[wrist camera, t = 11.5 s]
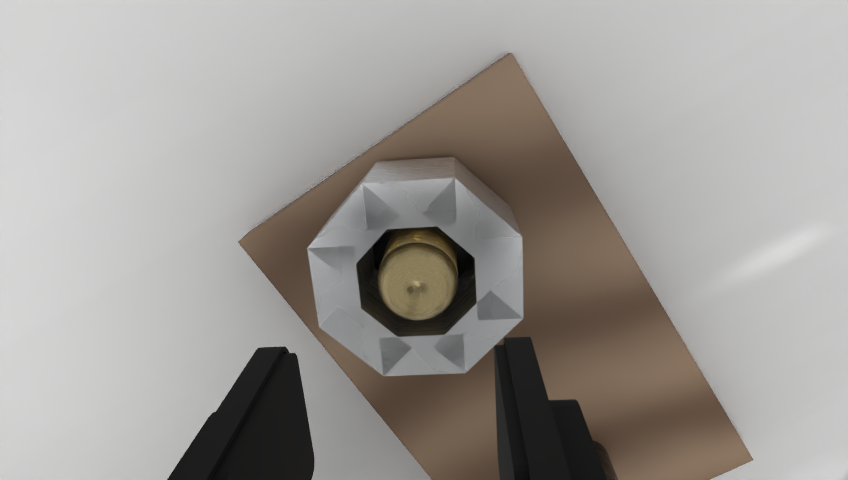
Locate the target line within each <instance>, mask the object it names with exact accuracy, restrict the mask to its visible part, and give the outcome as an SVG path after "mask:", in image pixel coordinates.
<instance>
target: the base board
mask: <svg viewBox="0 0 848 480" xmlns="http://www.w3.org/2000/svg"><path fill="white" fill-rule="evenodd" d="M445 157H455V158H456V159H457V160H458V161H459V162H460V163H461V164H463V165H464V166H465V167H466V168H467V169H468V170H469V171H470V172H472V173H473V174H474V175H475V176H476V177H477V178H478V179H480V180H481V181H482V182H483V183H484V184H485V185H486V186H487V187H489V188H490V189H491V190H492V191H493V192H494V193H495V194H497V195H498V196H499V197H500V198H501V199H502V200H503V201H504V202H506V203H507V204H508V205H509V206H510V207H511V209H512V212H513V215H514V217H515V220H516V222H517V225H518V227H519V230H520V232H521V235H522V247H523V319H522V320H521V321H520V322H519V323H518V324H517V325H516V326H515V327H514V328H513V329H512V330H511V331H510V332H509V333H507V334H506V335H505V336H504V337H503V338H502V339H501V340H500V341H499V342H498V343H497V344H496V345H503V342H504V338H508V337H531V339H532V343H533V346H534V350H535V353H536V357H537V360H538V364H539V367H540V371H541V374H542V378H543V381H544V385H545V388H546V392H547V395H548V399H549V400H567V399H576V400H577V401H578V403H579V405H580V408H581V410H582V413H583V416H584V418H585V421H586V424H587V427H588V429H589V432H590V435H591V437H592V440H593V441H596V442H598V443H600V444H601V445H602V446H603V447H604V448H605V449H606V450H607V452H608V455H609V457H610V460H611V463H612V465H613V468H614V470H615V473H616V475H617V478H618V480H710V479H712V478H714V477H717V476H719V475H721V474H723V473H726V472H728V471H730V470H732V469H734V468H737V467H739V466H741V465H743V464H746V463H748V462H750V461H752V460H753V458H752V457H751V455H750V453H749V451H748V450H747V448H746V446H745V445H744V443H743V441H742V440H741V438H740V436H739V435H738V433H737V431H736V430H735V428H734V426H733V425H732V423H731V421H730V420H729V418H728V416H727V414H726V413H725V411H724V409H723V408H722V406H721V404H720V403H719V401H718V399H717V398H716V396H715V394H714V393H713V391H712V389H711V388H710V386H709V384H708V382H707V381H706V379H705V377H704V376H703V374H702V372H701V371H700V369H699V367H698V366H697V364H696V362H695V361H694V359H693V357H692V356H691V354H690V352H689V351H688V349H687V347H686V345H685V344H684V342H683V340H682V339H681V337H680V335H679V334H678V332H677V330H676V329H675V327H674V325H673V324H672V322H671V320H670V319H669V317H668V315H667V313H666V312H665V310H664V308H663V307H662V305H661V303H660V302H659V300H658V298H657V297H656V295H655V293H654V292H653V290H652V288H651V287H650V285H649V283H648V282H647V280H646V278H645V276H644V275H643V273H642V271H641V270H640V268H639V266H638V265H637V263H636V261H635V260H634V258H633V256H632V255H631V253H630V251H629V250H628V248H627V246H626V244H625V243H624V241H623V239H622V238H621V236H620V234H619V233H618V231H617V229H616V228H615V226H614V224H613V223H612V221H611V219H610V218H609V216H608V214H607V213H606V211H605V209H604V207H603V206H602V204H601V202H600V201H599V199H598V197H597V196H596V194H595V192H594V191H593V189H592V187H591V186H590V184H589V182H588V181H587V179H586V177H585V175H584V174H583V172H582V170H581V169H580V167H579V165H578V164H577V162H576V160H575V159H574V157H573V155H572V154H571V152H570V150H569V149H568V147H567V145H566V144H565V142H564V140H563V138H562V137H561V135H560V133H559V132H558V130H557V128H556V127H555V125H554V123H553V122H552V120H551V118H550V117H549V115H548V113H547V112H546V110H545V108H544V106H543V105H542V103H541V101H540V100H539V98H538V96H537V95H536V93H535V91H534V90H533V88H532V86H531V85H530V83H529V81H528V80H527V78H526V76H525V75H524V73H523V71H522V69H521V68H520V66H519V64H518V63H517V61H516V59H515V58H514V56H513V54H512V53H508V54H507V55H505V56H504V57H502V58H501V59H499V60H498V61H497V62H495V63H494V64H492V65H491V66H489V67H488V68H486V69H485V70H484V71H482V72H481V73H479V74H478V75H476V76H475V77H473V78H472V79H470V80H469V81H468V82H466V83H465V84H463V85H462V86H460V87H459V88H457V89H456V90H455V91H453V92H452V93H450V94H449V95H447V96H446V97H444V98H443V99H441V100H440V101H439V102H437V103H436V104H434V105H433V106H431V107H430V108H428V109H427V110H426V111H424V112H423V113H421V114H420V115H418V116H417V117H415V118H414V119H412V120H411V121H410V122H408V123H407V124H405V125H404V126H402V127H401V128H399V129H398V130H397V131H395V132H394V133H392V134H391V135H389V136H388V137H386V138H385V139H383V140H382V141H381V142H379V143H378V144H376V145H375V146H373V147H372V148H370V149H369V150H368V151H366V152H365V153H363V154H362V155H360V156H359V157H357V158H356V159H354V160H353V161H352V162H350V163H349V164H347V165H346V166H344V167H343V168H341V169H340V170H339V171H337V172H336V173H334V174H333V175H331V176H330V177H328V178H327V179H325V180H324V181H323V182H321V183H320V184H318V185H317V186H315V187H314V188H312V189H311V190H310V191H308V192H307V193H305V194H304V195H302V196H301V197H299V198H298V199H296V200H295V201H294V202H292V203H291V204H289V205H288V206H286V207H285V208H283V209H282V210H281V211H279V212H278V213H276V214H275V215H273V216H272V217H270V218H269V219H267V220H266V221H265V222H263V223H262V224H260V225H259V226H257V227H256V228H254V229H253V230H252V231H250V232H249V233H247V234H246V235H245V236H244V237H243V238H242V239H241V240H240V241H238V243H239V244H240V245H241V246H242V247H243V249H244V250H245V251H246V252H247V254H248V255H249V256H250V257H251V258H252V260H253V261H254V262H255V263H256V265H257V266H258V267H259V268H260V269H261V271H262V272H263V273H264V274H265V276H266V277H267V278H268V279H269V280H270V282H271V283H272V284H273V285H274V287H275V288H276V289H277V290H278V291H279V293H280V294H281V295H282V296H283V298H284V299H285V300H286V301H287V303H288V304H289V305H290V306H291V307H292V309H293V310H294V311H295V312H296V314H297V315H298V316H299V317H300V318H301V320H302V321H303V322H304V323H305V325H306V326H307V327H308V328H309V329H310V331H311V332H312V333H313V334H314V336H315V337H316V338H317V339H318V340H319V342H320V343H321V344H322V345H323V347H324V348H325V349H326V350H327V352H328V353H329V354H330V355H331V356H332V358H333V359H334V360H335V361H336V363H337V364H338V365H339V366H340V367H341V369H342V370H343V371H344V372H345V374H346V375H347V376H348V377H349V378H350V380H351V381H352V382H353V383H354V385H355V386H356V387H357V388H358V389H359V391H360V392H361V393H362V394H363V396H364V397H365V398H366V399H367V400H368V402H369V403H370V404H371V405H372V407H373V408H374V409H375V410H376V412H377V413H378V414H379V415H380V416H381V418H382V419H383V420H384V421H385V423H386V424H387V425H388V426H389V427H390V429H391V430H392V431H393V432H394V434H395V435H396V436H397V437H398V438H399V440H400V441H401V442H402V443H403V445H404V446H405V447H406V448H407V449H408V451H409V452H410V453H411V454H412V456H413V457H414V458H415V459H416V460H417V462H418V463H419V464H420V465H421V467H422V468H423V469H424V470H425V472H426V473H427V474H428V475H429V476H430V478H431V479H432V480H500V476H499V467H498V453H497V425H496V395H495V366H494V347H493V348H492V349H491V350H489V351H488V352H487V353H486V354H485V355H484V356H483V357H482V358H481V359H480V360H479V361H478V362H477V363H476V364H475V365H474V366H473V367H471V368H470V369H469V370H468V371H467V372H466V373H458V374H431V375H404V376H383V375H381V374H380V373H379V372H377V371H376V370H375V369H373V368H372V367H371V366H369V365H368V364H367V363H366V362H364V361H363V360H362V359H360V358H359V357H358V356H356V355H355V354H354V353H352V352H351V351H350V350H348V349H347V348H346V347H344V346H343V345H342V344H341V343H339V342H338V341H337V340H335V339H334V338H333V337H331V336H330V335H329V334H327V333H326V332H325V331H323V330H322V329H321V328H319V324H318V317H317V310H316V304H315V297H314V290H313V284H312V277H311V271H310V264H309V257H308V251H307V248H308V246H309V245H310V244H311V242H312V241H313V240H314V238H315V237H316V236H317V234H318V233H319V232H320V230H321V229H322V227H323V226H324V225H325V223H326V222H327V221H328V219H329V218H330V217H331V216H332V214H333V213H334V212H335V211H336V210H337V208H338V207H339V206H340V205H341V204H342V202H343V201H344V200H345V199H346V198H347V197H348V195H349V194H350V193H351V192H352V191H353V189H354V188H355V187H356V186H357V185H358V184H359V182H360V181H361V180H362V179H363V178H364V176H365V175H366V174H367V173H368V172H369V171H370V169H371V168H372V167H373V166H374V165H375V163H376V162H382V161H397V160H413V159H429V158H445Z"/></svg>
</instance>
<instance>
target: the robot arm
mask: <svg viewBox="0 0 848 480" xmlns="http://www.w3.org/2000/svg"><path fill="white" fill-rule="evenodd" d="M494 366H495V395H496V425H497V453H498V467H499V476H500V480H607V478H606V475H605V473H604V470H603V467H602V464H601V462H600V459H599V456H598V454H597V451H596V448H595V446H594V443H593V440H592V437H591V435H590V432H589V429H588V427H587V424H586V421H585V418H584V416H583V413H582V410H581V408H580V405H579V403H578V401H577V400H576V399H567V400H549V399H548V395H547V392H546V388H545V385H544V381H543V378H542V374H541V371H540V367H539V364H538V360H537V357H536V353H535V350H534V346H533V343H532V339H531V337H508V338H504V342H503V345H494ZM313 471H314V453H313V447H312V441H311V435H310V429H309V423H308V417H307V411H306V405H305V399H304V393H303V387H302V382H301V376H300V370H299V364H298V359H297V356H296V354H295V353H289V351H288V349H287V348H286V347H264V348H258V349H257V350H256V351H255V353H254V354H253V356H252V358H251V359H250V361H249V362H248V364H247V365H246V367H245V368H244V370H243V371H242V373H241V374H240V376H239V377H238V379H237V380H236V382H235V383H234V385H233V387H232V388H231V390H230V391H229V393H228V394H227V396H226V397H225V399H224V400H223V402H222V403H221V405H220V406H219V408H218V409H217V411H216V412H214V413H212V414H211V415H210V417H209V418H208V419H207V421H206V422H205V424H204V425H203V427H202V428H201V430H200V431H199V433H198V434H197V436H196V437H195V439H194V440H193V442H192V443H191V445H190V446H189V448H188V449H187V451H186V452H185V454H184V455H183V457H182V458H181V460H180V461H179V463H178V464H177V466H176V467H175V469H174V470H173V472H172V473H171V475H170V476H169V478H168V479H167V480H311V479H312V475H313Z"/></svg>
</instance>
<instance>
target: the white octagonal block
mask: <svg viewBox="0 0 848 480" xmlns="http://www.w3.org/2000/svg"><path fill="white" fill-rule="evenodd" d="M436 226H437V227H439V228H440V229H441V230H442V231H443V232H444V233H446V234H447V235H448V236H449V237H450V238H452V239H453V240H454V241H455V242H456V243H458V244H459V245H460V246H461V247H462V248H463V249H465V250H466V251H467V252H468V253H469V254H471V255H472V265H471V266H470V267H469V268H468V269H467V270H466V271H465V272H464V273H463V274H462V275H461V276H460V277H459V278H458V286H457V291H456V294H455V296H454V298H453V300H452V302H451V304H450V305H449V306H448V307H447V308H446V309H445V310H444V311H443V312H442V313H440V314H439V315H437V316H435V317H433V318H430V319H427V320H420V321H415V320H409V319H405V318H402V317H400V316H398V315H397V314H395V313H394V312H392V311H391V310H390V309H389V308H388V307H387V306H386V304H385V303H384V301H383V300H382V298H381V296H380V293H379V288H378V272H379V271H377V270H376V269H375V263H374V254H373V244H374V243H375V242H376V241H377V240H378V239H379V238H380V237H381V235H382V234H383V233H384V232H385V231H386V230H387V229H400V228H418V227H436ZM307 251H308V257H309V264H310V271H311V277H312V284H313V290H314V297H315V304H316V310H317V317H318V324H319V328H321V329H322V330H323V331H325V332H326V333H327V334H329V335H330V336H331V337H333V338H334V339H335V340H337V341H338V342H339V343H341V344H342V345H343V346H344V347H346V348H347V349H348V350H350V351H351V352H352V353H354V354H355V355H356V356H358V357H359V358H360V359H362V360H363V361H364V362H366V363H367V364H368V365H369V366H371V367H372V368H373V369H375V370H376V371H377V372H379V373H380V374H381V375H383V376H404V375H431V374H458V373H466V372H467V371H468V370H469V369H470V368H471V367H473V366H474V365H475V364H476V363H477V362H478V361H479V360H480V359H481V358H482V357H483V356H484V355H485V354H486V353H487V352H488V351H489V350H491V349H492V348H493V347H494V345H496V344H497V343H498V342H499V341H500V340H501V339H502V338H503V337H504V336H505V335H506V334H507V333H509V332H510V331H511V330H512V329H513V328H514V327H515V326H516V325H517V324H518V323H519V322H520V321H521V320H522V319H523V247H522V235H521V232H520V230H519V227H518V225H517V222H516V220H515V217H514V215H513V212H512V209H511V207H510V206H509V205H508V204H507V203H506V202H504V201H503V200H502V199H501V198H500V197H499V196H498V195H497V194H495V193H494V192H493V191H492V190H491V189H490V188H489V187H487V186H486V185H485V184H484V183H483V182H482V181H481V180H480V179H478V178H477V177H476V176H475V175H474V174H473V173H472V172H470V171H469V170H468V169H467V168H466V167H465V166H464V165H463V164H461V163H460V162H459V161H458V160H457V159H456V158H455V157H445V158H429V159H413V160H397V161H382V162H376V163H375V165H374V166H373V167H372V168H371V169H370V171H369V172H368V173H367V174H366V175H365V176H364V178H363V179H362V180H361V181H360V182H359V184H358V185H357V186H356V187H355V188H354V189H353V191H352V192H351V193H350V194H349V195H348V197H347V198H346V199H345V200H344V201H343V202H342V204H341V205H340V206H339V207H338V208H337V210H336V211H335V212H334V213H333V214H332V216H331V217H330V218H329V219H328V221H327V222H326V223H325V225H324V226H323V227H322V229H321V230H320V232H319V233H318V234H317V236H316V237H315V238H314V240H313V241H312V242H311V244H310V245H309V246H308V248H307Z"/></svg>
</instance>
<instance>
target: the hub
mask: <svg viewBox="0 0 848 480" xmlns="http://www.w3.org/2000/svg"><path fill="white" fill-rule="evenodd" d="M373 254H374V263H375V269H376V270H377V271H379V272H378V288H379V293H380V296H381V298H382V300H383V301H384V303H385V304H386V306H387V307H388V308H389V309H390V310H391V311H392V312H394V313H395V314H397V315H398V316H400V317H402V318H405V319H409V320H415V321H420V320H427V319H430V318H433V317H435V316H437V315H439V314H440V313H442V312H443V311H444V310H445V309H446V308H447V307H448V306H449V305H450V304H451V302H452V300H453V298H454V296H455V294H456V291H457V286H458V278H459V277H460V276H461V275H462V274H463V273H464V272H465V271H466V270H467V269H468V268H469V267H470V266H471V265H472V255H471V254H469V253H468V252H467V251H466V250H465V249H463V248H462V247H461V246H460V245H459V244H458V243H456V242H455V241H454V240H453V239H452V238H450V237H449V236H448V235H447V234H446V233H444V232H443V231H442V230H441V229H440V228H439V227H437V226H436V227H418V228H400V229H387V230H386V231H385V232H384V233H383V234H382V235H381V237H380V238H379V239H378V240H377V241H376V242H375V243H374V244H373Z"/></svg>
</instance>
